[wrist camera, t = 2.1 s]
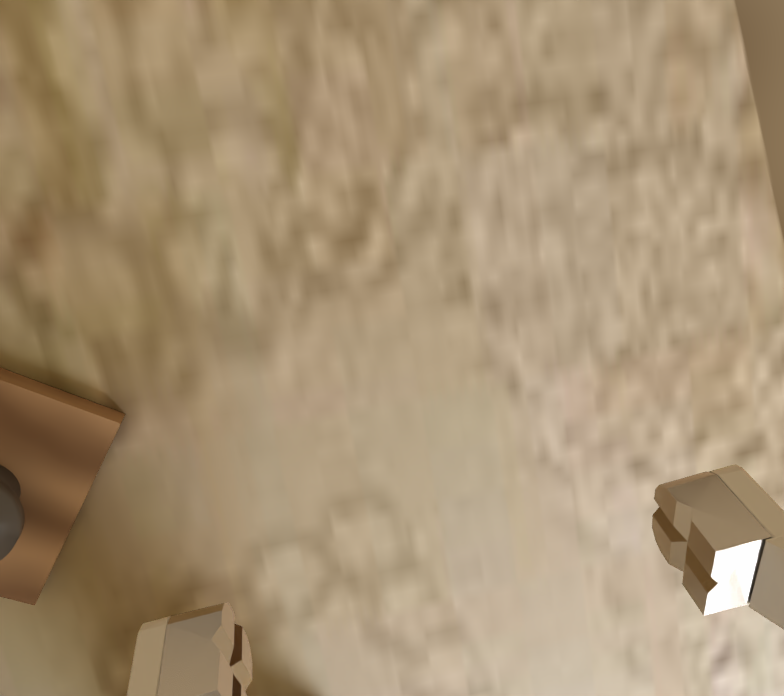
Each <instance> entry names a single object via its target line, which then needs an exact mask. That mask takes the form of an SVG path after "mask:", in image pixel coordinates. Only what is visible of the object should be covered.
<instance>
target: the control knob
mask: <svg viewBox="0 0 784 696" xmlns="http://www.w3.org/2000/svg"><path fill="white" fill-rule="evenodd" d="M20 495H21V488H20V484H19V482H18V480H17V478H16V477H15V475H14V474H13V473H12V472H11V471H10V470H8V469H7V468H5V467H4V466H2V465H0V560H2V559H3V558H4V557H6V556H7V555H8V554H9V553H10V551H11V550H12V549H13V547H14V545H15V544H16V542H17V540H18V539H19V537H20V535H21V533H22V531H23V528H24V523H25V514H24V509H23V506H22V503H21V501H20Z"/></svg>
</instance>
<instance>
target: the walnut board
mask: <svg viewBox="0 0 784 696" xmlns="http://www.w3.org/2000/svg"><path fill="white" fill-rule="evenodd" d="M124 416H125V414H124V413H121V412H119V411H116V410H113V409H111V408H108V407H105V406H102V405H100V404H97V403H94V402H92V401H89V400H86V399H84V398H81V397H78V396H76V395H73V394H70V393H67V392H65V391H62V390H59V389H57V388H54V387H51V386H49V385H46V384H43V383H41V382H38V381H35V380H32V379H30V378H27V377H24V376H22V375H19V374H16V373H14V372H11V371H8V370H6V369H3V368H0V465H2V466H4V467H5V468H7V469H8V470H10V471H11V472H12V473H13V474H14V475H15V477H16V478H17V480H18V482H19V484H20V488H21V495H20V501H21V503H22V506H23V509H24V514H25V523H24V528H23V531H22V533H21V535H20V537H19V539H18V540H17V542H16V544H15V545H14V547H13V549H12V550H11V551H10V553H9V554H8V555H7V556H6V557H4V558H3V559H2V560H0V596H1V597H4V598H8V599H12V600H16V601H20V602H24V603H28V604H32V605H35V603H36V601H37V599H38V597H39V595H40V593H41V591H42V589H43V587H44V585H45V582H46V580H47V578H48V576H49V574H50V572H51V570H52V568H53V566H54V563H55V561H56V559H57V557H58V555H59V553H60V551H61V549H62V547H63V544H64V542H65V540H66V538H67V536H68V534H69V532H70V530H71V528H72V525H73V523H74V521H75V519H76V517H77V515H78V513H79V511H80V509H81V507H82V504H83V502H84V500H85V498H86V496H87V494H88V492H89V490H90V488H91V485H92V483H93V481H94V479H95V477H96V475H97V473H98V471H99V469H100V466H101V464H102V462H103V460H104V458H105V456H106V454H107V452H108V450H109V447H110V445H111V443H112V441H113V439H114V437H115V435H116V433H117V431H118V428H119V426H120V424H121V422H122V420H123V418H124Z"/></svg>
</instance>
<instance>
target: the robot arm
mask: <svg viewBox="0 0 784 696" xmlns="http://www.w3.org/2000/svg"><path fill="white" fill-rule="evenodd" d="M654 499H655V501H656V502H657V504H658V505H659V506H660V507H659V508H658V509H657V511H656V512H655V513H654V514H653V519H652V529H653V532H654V536H655V540H656V543H657V545H658V547H659V549H660V551H661V553H662V554H663V556H664V557H665V559H666V561H667V562H668V564H670V565H672V566H674V567H676V568H677V569H679V570H681V571H683V583H682V584H683V586H684V587H685V589H686V590H687V592H688V593H689V595H690V596H691V598H692V599H693V600H694V602H695V603H696V605H697V606H698V608H699V609H700V611H701V612H702V614H703V615H708V614H712V613H716V612H720V611H724V610H728V609H732V608H735V607H739V606H743V605H747V604H749V607H750V608H751V609H753V610H755V611H756V612H758V613H759V614H761V615H762V616H764V617H765V618H767V619H768V620H770V621H771V622H773V623H775V624H776V625H778V626H779V627H781V628H782V629H784V511H783V510H782V509H781V508H780V507H779V505H778V504H777V503H776V502H775V501H774V500H773V499H772V498H771V497H770V496H769V495H768V494H767V493H766V492H765V491H764V490H763V489H762V488H761V487H760V486H759V485H758V484H757V483H756V482H755V480H754V479H753V478H752V477H751V476H750V475H749V474H748V473H747V472H746V471H745V470H744V469H743V468H742V467H740V466H738V465H731V466H727V467H724V468H720V469H716V470H713V471H710V472H703V473H699V474H696V475H692V476H689V477H685V478H682V479H678V480H675V481H671V482H668V483H664V484H661V485H659V486H658V487H657V488H656V490H655V497H654ZM234 622H235V612H234V610H233V609H232V607H231V605H230V604H229V602H226V603H222V604H218V605H214V606H210V607H206V608H202V609H198V610H194V611H190V612H186V613H181V614H177V615H173V616H169V617H165V618H161V619H157V620H154V621H150V622H146V623H143V624H142V626H141V628H140V630H139V632H138V634H137V639H136V645H135V651H134V656H133V662H132V667H131V673H130V679H129V684H128V690H127V696H247V694H246V692H245V691H246V689H247V688H248V686H249V684H250V683H251V681H252V679H253V677H252V657H251V650H250V644H249V641H248V638H247V635H246V633H245V631H244V629H243V627H242V626H239V625H237V624H234Z"/></svg>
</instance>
